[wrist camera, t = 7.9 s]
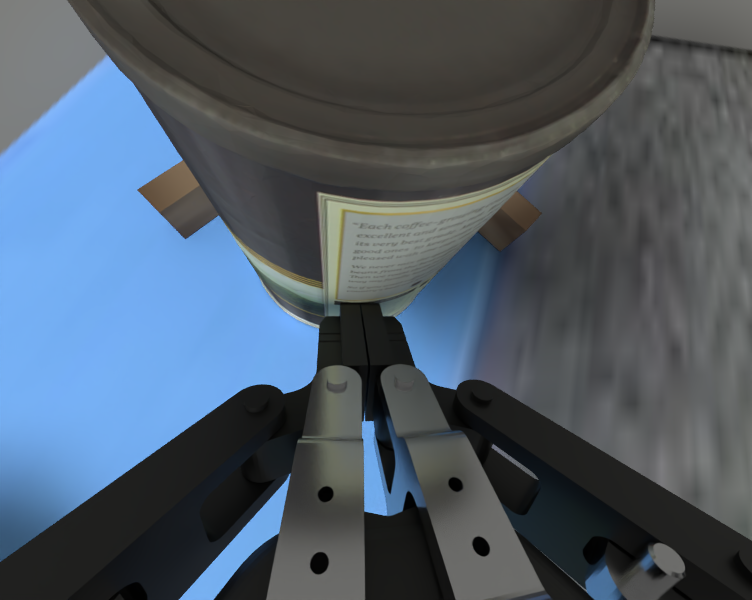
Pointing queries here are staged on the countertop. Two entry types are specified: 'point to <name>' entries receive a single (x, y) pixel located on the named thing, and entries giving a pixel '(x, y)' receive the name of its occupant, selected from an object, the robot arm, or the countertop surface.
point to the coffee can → (367, 121)
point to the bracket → (194, 210)
